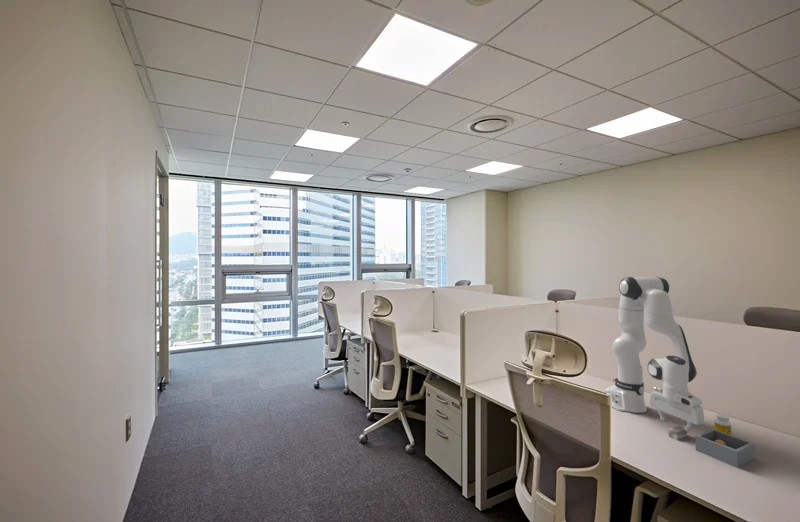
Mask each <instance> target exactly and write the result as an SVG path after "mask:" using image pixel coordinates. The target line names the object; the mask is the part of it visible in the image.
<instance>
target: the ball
mask: <svg viewBox="0 0 800 522" xmlns="http://www.w3.org/2000/svg"><path fill="white" fill-rule="evenodd" d="M714 442H716V443H719V444H721V445H724V446H727V445H726V443H725V442H724V441H722V440H715V441H714Z"/></svg>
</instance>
